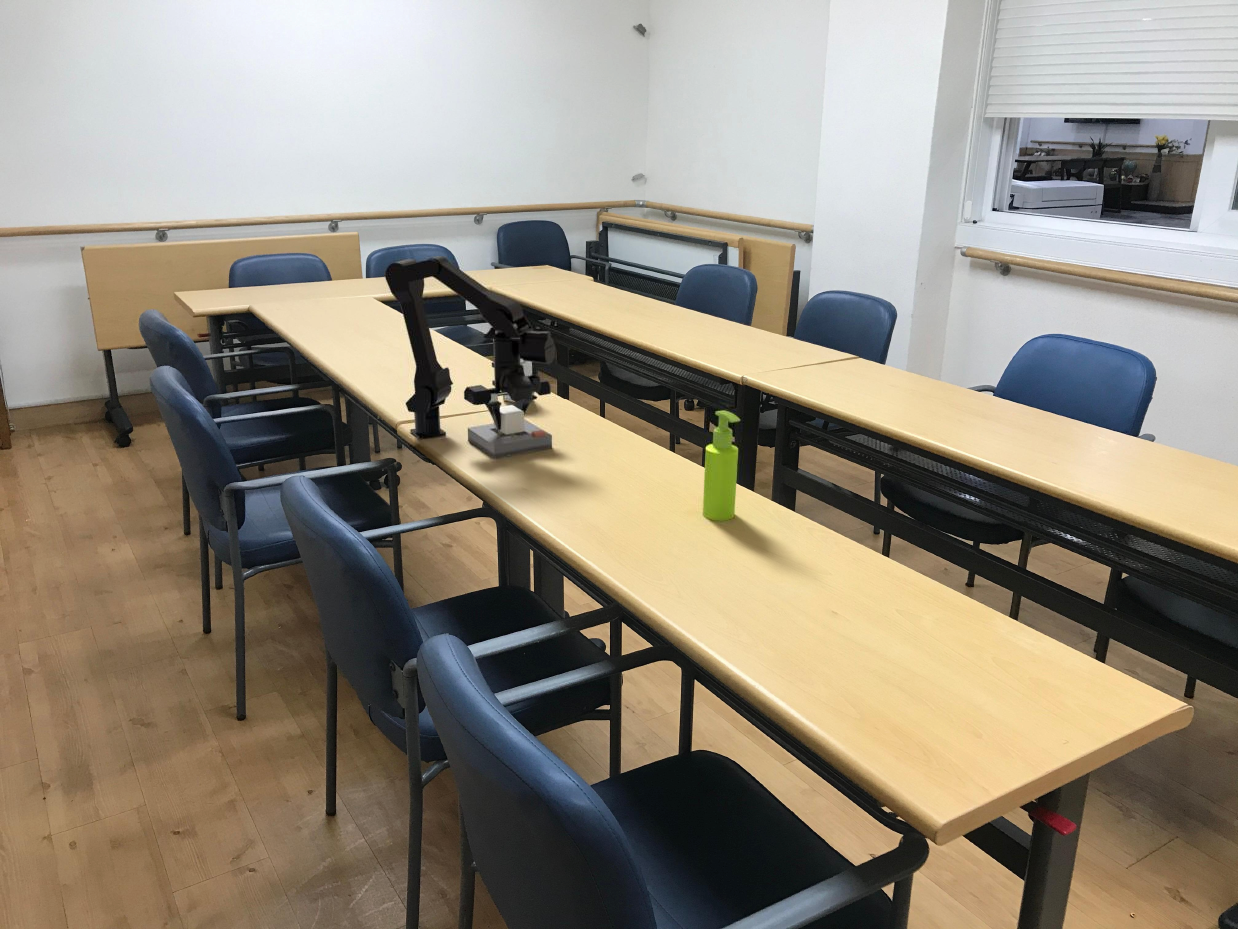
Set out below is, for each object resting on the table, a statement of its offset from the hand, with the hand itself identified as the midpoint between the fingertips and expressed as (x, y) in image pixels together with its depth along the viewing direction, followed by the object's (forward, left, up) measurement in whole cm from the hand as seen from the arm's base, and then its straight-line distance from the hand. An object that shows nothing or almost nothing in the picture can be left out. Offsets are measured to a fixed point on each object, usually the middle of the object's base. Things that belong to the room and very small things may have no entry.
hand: (508, 427), depth 212 cm
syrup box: (-30, +17, -4) cm, 35 cm away
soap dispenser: (+56, +16, -4) cm, 58 cm away
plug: (0, 0, -2) cm, 2 cm away
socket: (0, 0, -4) cm, 4 cm away
